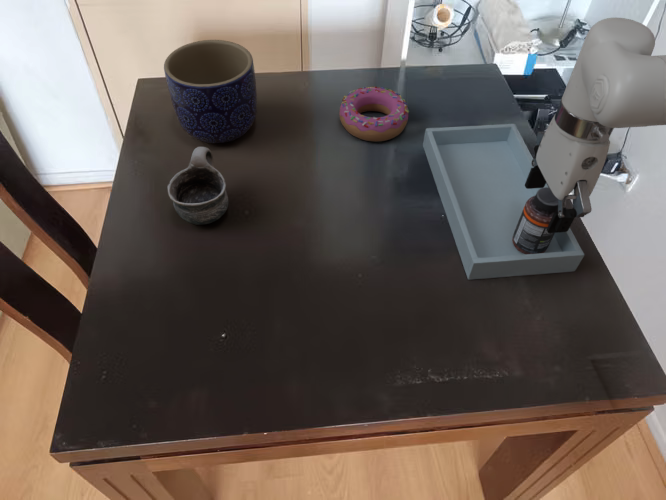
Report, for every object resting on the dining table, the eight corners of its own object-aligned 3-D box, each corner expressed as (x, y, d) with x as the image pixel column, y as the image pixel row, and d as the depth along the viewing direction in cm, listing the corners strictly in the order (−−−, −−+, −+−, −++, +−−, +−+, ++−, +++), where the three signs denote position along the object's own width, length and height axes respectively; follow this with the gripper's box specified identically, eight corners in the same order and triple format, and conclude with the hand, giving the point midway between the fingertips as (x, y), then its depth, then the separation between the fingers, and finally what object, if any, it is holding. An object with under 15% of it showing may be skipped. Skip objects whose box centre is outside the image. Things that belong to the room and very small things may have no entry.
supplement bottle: (525, 225, 93) (546, 176, 85) (554, 246, 90) (578, 197, 82) (503, 241, 91) (522, 193, 82) (532, 263, 88) (555, 215, 79)
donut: (360, 153, 106) (361, 132, 103) (327, 114, 114) (327, 93, 111) (420, 133, 111) (424, 112, 107) (384, 97, 119) (386, 76, 115)
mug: (173, 235, 92) (159, 193, 84) (178, 185, 100) (166, 142, 92) (230, 231, 92) (222, 189, 85) (231, 182, 100) (223, 139, 93)
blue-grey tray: (574, 271, 88) (584, 254, 85) (468, 280, 86) (473, 263, 83) (508, 140, 110) (514, 123, 106) (422, 145, 108) (425, 128, 105)
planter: (240, 160, 104) (230, 94, 93) (164, 143, 107) (145, 76, 96) (272, 112, 115) (267, 47, 103) (202, 97, 118) (189, 32, 106)
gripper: (643, 157, 66) (590, 248, 79) (586, 79, 77) (547, 170, 90) (585, 161, 65) (541, 252, 78) (535, 82, 76) (504, 173, 89)
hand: (544, 208), depth 84 cm, fingers open, 9 cm apart
